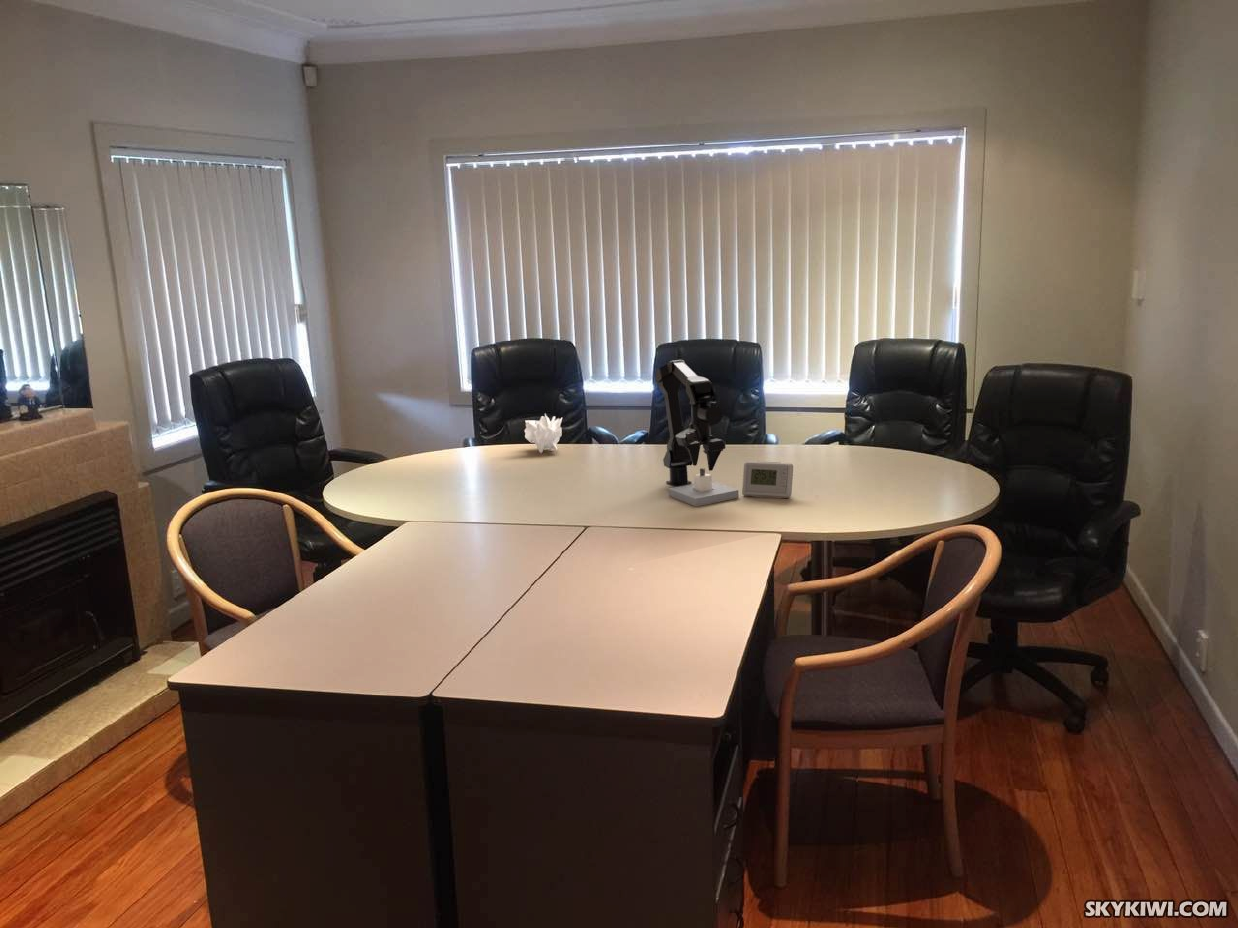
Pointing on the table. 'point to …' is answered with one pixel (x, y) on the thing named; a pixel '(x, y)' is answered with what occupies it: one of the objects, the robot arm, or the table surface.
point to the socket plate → (703, 494)
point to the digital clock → (767, 479)
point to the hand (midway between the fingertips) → (702, 467)
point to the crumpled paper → (544, 433)
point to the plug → (702, 481)
